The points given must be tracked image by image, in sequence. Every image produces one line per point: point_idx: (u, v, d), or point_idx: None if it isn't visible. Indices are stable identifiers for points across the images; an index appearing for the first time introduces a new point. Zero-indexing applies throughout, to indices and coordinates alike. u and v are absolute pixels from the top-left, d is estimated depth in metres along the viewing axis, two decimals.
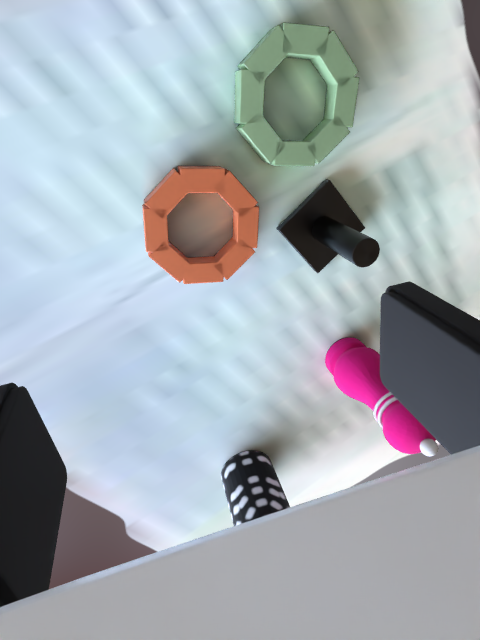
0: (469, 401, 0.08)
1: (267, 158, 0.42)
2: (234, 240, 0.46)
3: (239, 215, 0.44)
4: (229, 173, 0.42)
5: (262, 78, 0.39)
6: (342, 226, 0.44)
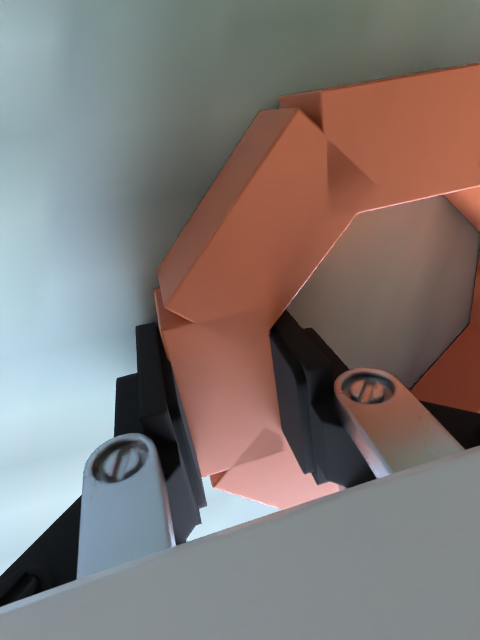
0: (292, 406, 0.09)
1: None
2: None
3: None
4: (332, 99, 0.07)
5: None
6: None
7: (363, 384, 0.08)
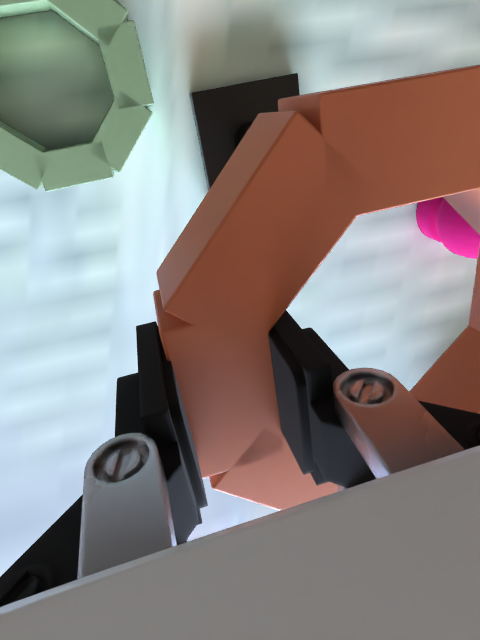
0: (291, 407, 0.09)
1: (104, 177, 0.28)
2: None
3: None
4: (330, 102, 0.07)
5: None
6: None
7: (362, 384, 0.08)
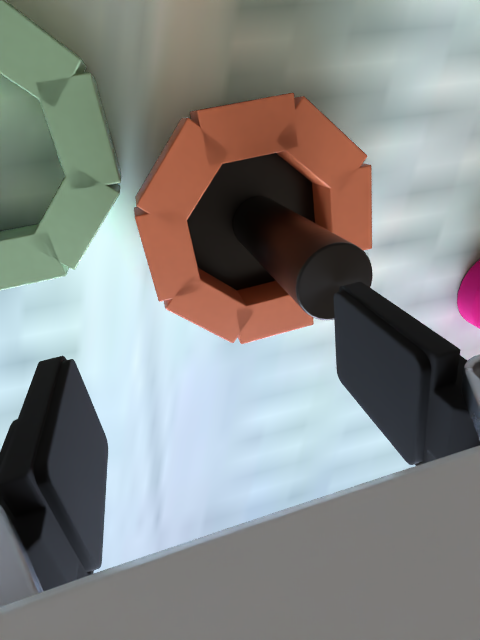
0: (404, 395, 0.09)
1: (53, 276, 0.20)
2: (321, 187, 0.22)
3: (289, 149, 0.20)
4: (202, 114, 0.18)
5: None
6: (260, 233, 0.18)
7: None
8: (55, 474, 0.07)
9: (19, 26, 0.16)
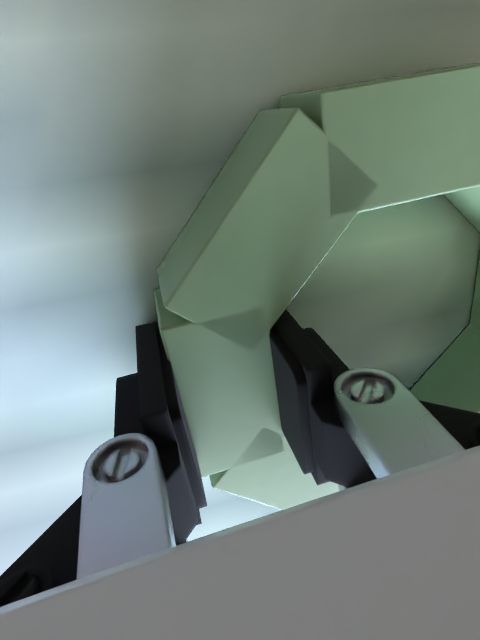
0: (292, 407, 0.09)
1: None
2: None
3: None
4: None
5: (276, 439, 0.11)
6: None
7: (363, 384, 0.08)
8: (181, 414, 0.08)
9: None
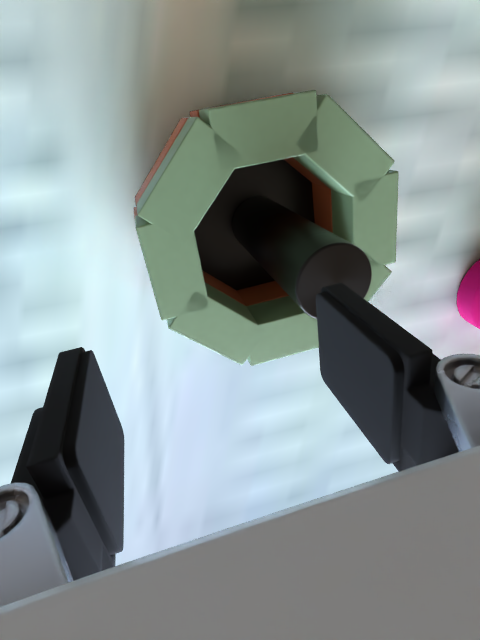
0: (380, 395, 0.09)
1: None
2: (321, 187, 0.22)
3: None
4: None
5: (203, 299, 0.19)
6: (260, 233, 0.18)
7: (470, 369, 0.07)
8: (82, 458, 0.07)
9: (355, 137, 0.18)
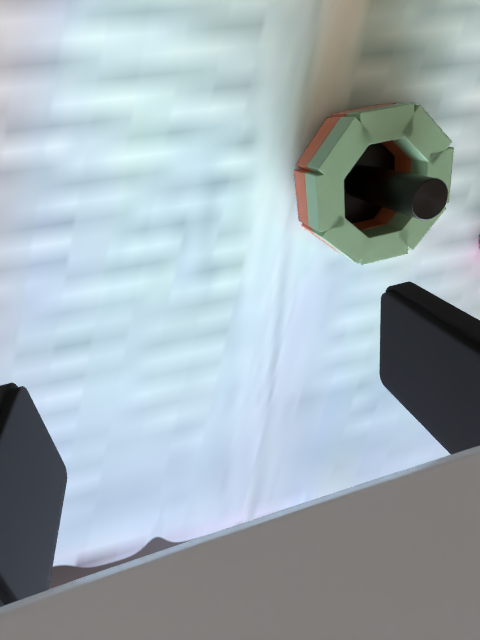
0: (469, 401, 0.08)
1: (401, 254, 0.37)
2: (403, 158, 0.37)
3: None
4: None
5: (342, 220, 0.34)
6: (377, 181, 0.33)
7: None
8: None
9: (432, 127, 0.32)
